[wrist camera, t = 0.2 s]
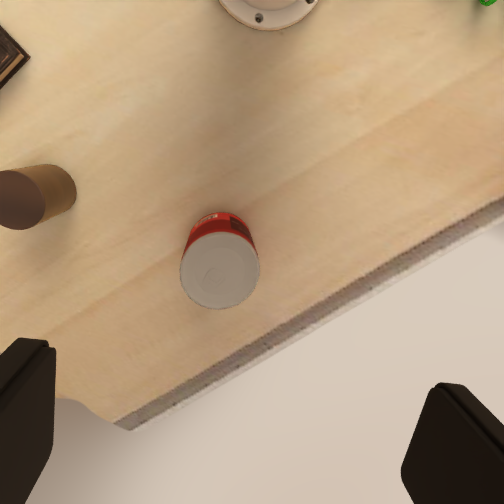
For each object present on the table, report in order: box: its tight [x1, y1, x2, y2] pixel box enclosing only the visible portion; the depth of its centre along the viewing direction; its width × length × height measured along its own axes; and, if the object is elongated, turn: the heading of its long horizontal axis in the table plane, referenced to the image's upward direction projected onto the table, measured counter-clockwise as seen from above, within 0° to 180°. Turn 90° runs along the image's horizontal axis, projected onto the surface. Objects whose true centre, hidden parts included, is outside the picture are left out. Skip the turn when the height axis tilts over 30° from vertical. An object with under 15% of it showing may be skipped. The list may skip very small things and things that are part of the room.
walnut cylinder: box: [0, 164, 76, 230], centre depth 38 cm, size 6×6×8 cm
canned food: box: [180, 213, 260, 310], centre depth 40 cm, size 8×8×11 cm
